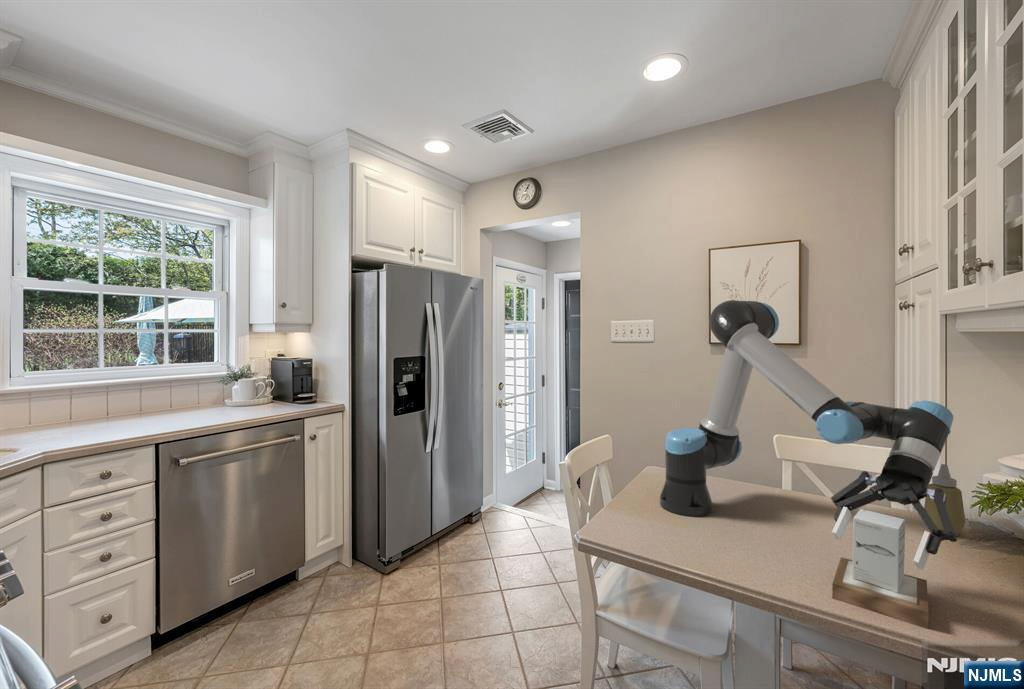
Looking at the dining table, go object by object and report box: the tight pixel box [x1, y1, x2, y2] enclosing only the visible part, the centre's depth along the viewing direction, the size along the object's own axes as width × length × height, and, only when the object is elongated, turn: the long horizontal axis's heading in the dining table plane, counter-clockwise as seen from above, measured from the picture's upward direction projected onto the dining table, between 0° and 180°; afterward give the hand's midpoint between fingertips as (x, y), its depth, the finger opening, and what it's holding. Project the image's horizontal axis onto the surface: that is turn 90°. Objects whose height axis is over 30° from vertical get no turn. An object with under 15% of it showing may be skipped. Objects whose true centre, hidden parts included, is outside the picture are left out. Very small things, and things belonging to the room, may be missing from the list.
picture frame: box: [831, 556, 930, 629], centre depth 89 cm, size 14×14×3 cm
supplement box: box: [851, 508, 907, 593], centre depth 89 cm, size 7×7×13 cm
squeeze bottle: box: [923, 463, 966, 536], centre depth 117 cm, size 8×8×18 cm
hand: (874, 550), depth 87 cm, fingers open, 13 cm apart
